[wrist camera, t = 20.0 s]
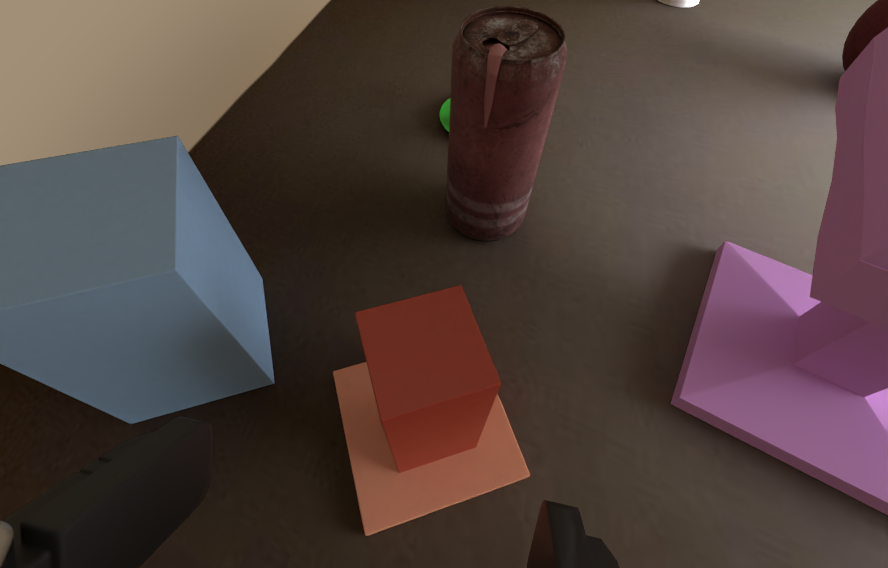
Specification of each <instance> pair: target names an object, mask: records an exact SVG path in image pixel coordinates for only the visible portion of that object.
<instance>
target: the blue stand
mask: <svg viewBox="0 0 888 568" xmlns="http://www.w3.org/2000/svg"><path fill="white" fill-rule="evenodd" d="M0 364H2V365H4V366H7V367H9V368H11V369H13V370H15V371H17V372H20V373H22V374H24V375H26V376H28V377H30V378H32V379H35V380H37V381H39V382H41V383H43V384H45V385H48V386H50V387H52V388H54V389H56V390H58V391H61V392H63V393H65V394H67V395H69V396H71V397H73V398H76V399H78V400H80V401H82V402H84V403H86V404H89V405H91V406H93V407H95V408H97V409H99V410H101V411H104V412H106V413H108V414H110V415H112V416H114V417H117V418H119V419H121V420H123V421H125V422H127V423H130V424H133V423H137V422H140V421H144V420H147V419H151V418H154V417H158V416H162V415H165V414H169V413H172V412H176V411H179V410H183V409H186V408H190V407H193V406H197V405H200V404H204V403H207V402H211V401H215V400H218V399H222V398H225V397H229V396H232V395H236V394H239V393H243V392H246V391H250V390H253V389H257V388H260V387H264V386H268V385H271V384H274V383H275V382H274V373H273V365H272V356H271V348H270V339H269V331H268V322H267V314H266V305H265V297H264V288H263V280H262V277H261V275H260V274H259V272H258V270H257V269H256V267H255V265H254V264H253V262H252V260H251V259H250V257H249V255H248V254H247V252H246V250H245V248H244V247H243V245H242V243H241V242H240V240H239V238H238V237H237V235H236V233H235V232H234V230H233V228H232V226H231V225H230V223H229V221H228V220H227V218H226V216H225V215H224V213H223V211H222V210H221V208H220V206H219V205H218V203H217V201H216V199H215V198H214V196H213V194H212V193H211V191H210V189H209V188H208V186H207V184H206V183H205V181H204V179H203V177H202V176H201V174H200V172H199V171H198V169H197V167H196V166H195V164H194V162H193V161H192V159H191V157H190V156H189V154H188V152H187V150H186V149H185V147H184V145H183V144H182V142H181V140H180V139H179V137H178V136H173V137H167V138H161V139H156V140H149V141H143V142H138V143H132V144H126V145H121V146H114V147H108V148H102V149H96V150H90V151H84V152H79V153H73V154H67V155H61V156H55V157H49V158H43V159H37V160H31V161H25V162H19V163H13V164H8V165H2V166H0Z"/></svg>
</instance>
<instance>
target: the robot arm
mask: <svg viewBox="0 0 888 568" xmlns="http://www.w3.org/2000/svg"><path fill="white" fill-rule="evenodd" d="M212 451H213V426H212V425H211V424H210V423H208V422H203V421H199V420H194V419H190V418H186V417H181V416H179V417H175V418H174V419H172V420H170V421H169V422H167V423H166V424H165V425H163V426H162V427H160V428H159V429H157V430H156V431H154V432H153V433H149V432H148V433H146V434H143V435H140V436H138V437H135V438H133V439H130V440H127V441H125V442H122V443H120V444H119V445H117V446H116V447H114V448H113V449H111V450H110V451H108V452H107V453H105V454H103V455H102V456H100V458H99V460H94V461H93V462H91V463H90V464H88V465H86V466H85V467H83V468H82V469H81V471H80V472H79V473H77V472H76V473H74V474H73V475H71V476H69V477H68V478H66V479H65V480H63V481H62V482H60V483H59V484H57V485H56V486H54V487H52V488H51V489H49V490H48V491H46V492H45V493H43V494H42V495H40V496H39V497H37V498H35V499H34V500H32V501H31V502H29V503H28V504H26V505H25V506H23V507H22V508H20V509H18V510H17V511H15V512H14V513H12V514H11V515H9V516H8V517H6V518H5V519H3V520H1V521H0V568H139V567H140V566H141V565H142V564H143V563H144V562H145V561H146V560H147V559H148V558H149V556H150V555H151V554H152V553H153V552H154V551H155V550H156V549H157V548H158V547H159V546H160V545H161V544H162V543H163V542H164V541H165V540H166V539H167V538H168V537H169V536H170V535H171V534H172V533H173V532H174V531H175V530H176V529H177V528H178V527H179V526H180V525H181V524H182V523H183V522H184V521H185V520H186V519H187V518H188V517H189V516H190V514H191V513H192V512H193V511H194V510H195V509H196V508H197V507H198V506H199V505H200V503H201V502H202V501H203V499H204V497H205V495H206V493H207V491H208V488H209V485H210V481H211V470H212ZM527 568H619V565H618V562H617V560H616V559H615V557H614V556H613V555H612V553H611V552H610V551H609V549H608V548H607V546H606V545H605V544H604V542H603V541H602V540H601V539H599V538H595V537H591V536H586V534H585V530H584V527H583V523H582V519H581V515H580V512H579V509H578V508H576V507H572V506H568V505H563V504H559V503H555V502H550V501H546V500H544V501H543V503H542V505H541V508H540V512H539V516H538V520H537V524H536V528H535V532H534V537H533V541H532V545H531V549H530V553H529V557H528V563H527Z"/></svg>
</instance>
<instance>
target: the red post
mask: <svg viewBox="0 0 888 568" xmlns="http://www.w3.org/2000/svg"><path fill="white" fill-rule="evenodd" d="M355 316H356V320H357V325H358V329H359V333H360V337H361V341H362V345H363V350H364V354H365V358H366V362H367V366H368V370H369V375H370V379H371V383H372V387H373V391H374V395H375V400H376V404H377V408H378V412H379V416H380V420H381V423H382V426H383V429H384V432H385V435H386V437H387V440H388V443H389V446H390V449H391V452H392V454H393V457H394V460H395V463H396V466H397V469H398V472H399V473H401V472H404V471H407V470H410V469H413V468H416V467H419V466H422V465H425V464H428V463H431V462H434V461H437V460H440V459H443V458H446V457H449V456H452V455H455V454H458V453H461V452H464V451H467V450H470V449H473V448H476V447H477V444H478V441H479V439H480V436H481V434H482V431H483V429H484V426H485V424H486V421H487V419H488V416H489V413H490V411H491V408H492V406H493V403H494V401H495V398H496V396H497V393H498V390H499V388H500V385H501V381H500V379H499V377H498V374H497V372H496V369H495V367H494V364H493V362H492V359H491V357H490V354H489V352H488V350H487V347H486V345H485V342H484V340H483V337H482V335H481V332H480V330H479V328H478V325H477V323H476V320H475V318H474V315H473V313H472V310H471V308H470V305H469V303H468V301H467V298H466V296H465V293H464V291H463V288H462V286H461V285H459V286H455V287H451V288H448V289H444V290H440V291H436V292H432V293H428V294H424V295H421V296H417V297H413V298H409V299H405V300H401V301H397V302H393V303H390V304H386V305H382V306H378V307H374V308H370V309H366V310H363V311H359V312H356V313H355Z"/></svg>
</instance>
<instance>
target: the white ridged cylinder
mask: <svg viewBox="0 0 888 568" xmlns="http://www.w3.org/2000/svg"><path fill="white" fill-rule="evenodd" d="M658 1H660V2H662V3H664V4H667V5H670V6H674V7H692V6H695V5H697V4H698V3H699V0H658Z"/></svg>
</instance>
